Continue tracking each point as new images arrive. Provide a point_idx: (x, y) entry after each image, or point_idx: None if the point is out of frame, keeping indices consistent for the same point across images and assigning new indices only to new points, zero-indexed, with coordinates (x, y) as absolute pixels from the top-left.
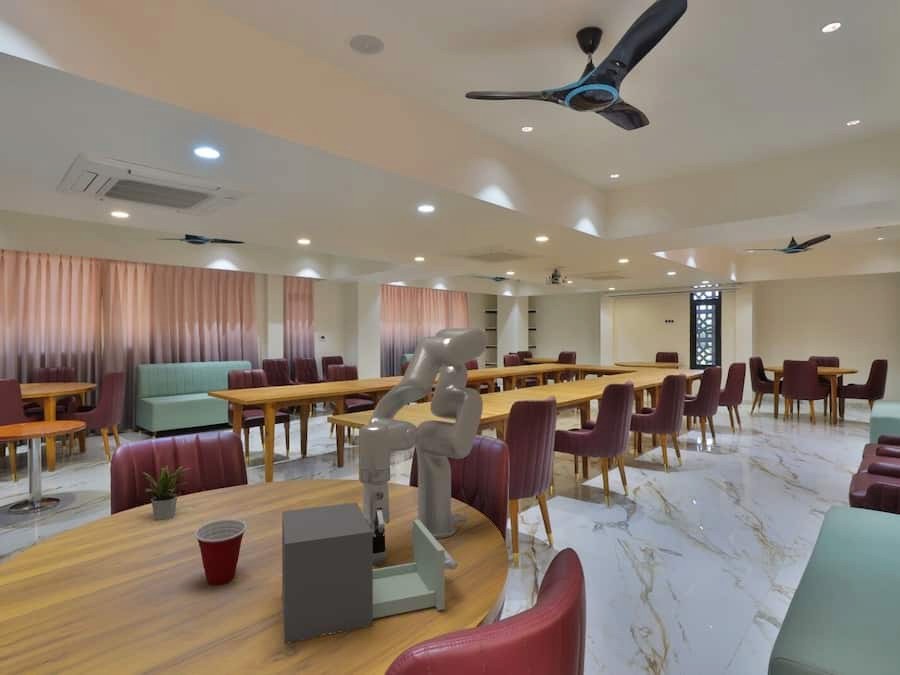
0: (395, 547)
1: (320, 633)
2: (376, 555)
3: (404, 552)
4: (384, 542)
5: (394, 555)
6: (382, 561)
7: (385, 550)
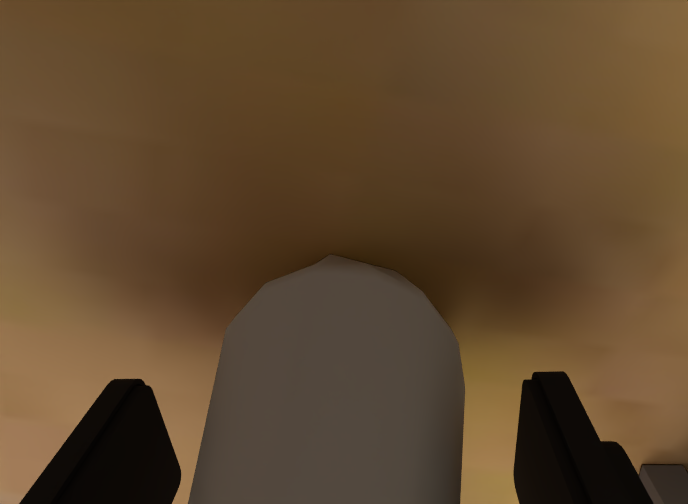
0: (66, 89)
1: None
2: (464, 389)
3: (208, 4)
4: (615, 475)
5: (266, 135)
6: (398, 274)
7: (404, 307)
